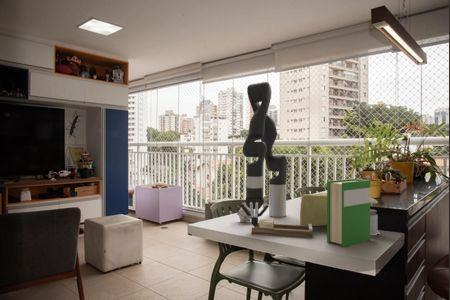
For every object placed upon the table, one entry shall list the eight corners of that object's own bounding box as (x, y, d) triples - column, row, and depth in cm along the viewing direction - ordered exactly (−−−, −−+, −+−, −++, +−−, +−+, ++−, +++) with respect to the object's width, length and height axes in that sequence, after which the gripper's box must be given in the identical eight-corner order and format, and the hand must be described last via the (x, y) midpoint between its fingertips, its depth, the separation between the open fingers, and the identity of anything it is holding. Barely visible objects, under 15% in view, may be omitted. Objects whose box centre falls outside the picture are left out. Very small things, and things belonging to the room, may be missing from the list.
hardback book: (343, 247, 117) (343, 182, 117) (326, 242, 123) (327, 181, 123) (370, 239, 127) (370, 180, 127) (353, 235, 133) (353, 178, 133)
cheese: (306, 229, 144) (307, 196, 144) (295, 224, 154) (295, 193, 154) (345, 225, 152) (346, 194, 152) (332, 220, 161) (332, 191, 161)
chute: (254, 228, 145) (254, 220, 145) (311, 231, 140) (311, 223, 140) (251, 234, 135) (251, 225, 135) (312, 237, 130) (312, 229, 130)
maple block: (260, 227, 142) (260, 218, 142) (273, 228, 141) (273, 219, 141) (259, 230, 137) (259, 221, 137) (273, 231, 135) (273, 222, 135)
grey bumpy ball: (247, 228, 159) (258, 211, 162) (247, 226, 152) (258, 208, 154) (232, 218, 162) (243, 202, 164) (231, 216, 154) (242, 199, 156)
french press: (366, 235, 133) (366, 176, 133) (348, 229, 144) (348, 174, 144) (385, 234, 135) (385, 176, 135) (366, 227, 146) (366, 174, 146)
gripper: (270, 185, 142) (270, 224, 142) (241, 185, 145) (241, 222, 145) (268, 187, 135) (268, 228, 135) (238, 187, 138) (238, 226, 138)
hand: (254, 225), depth 140 cm, fingers closed
